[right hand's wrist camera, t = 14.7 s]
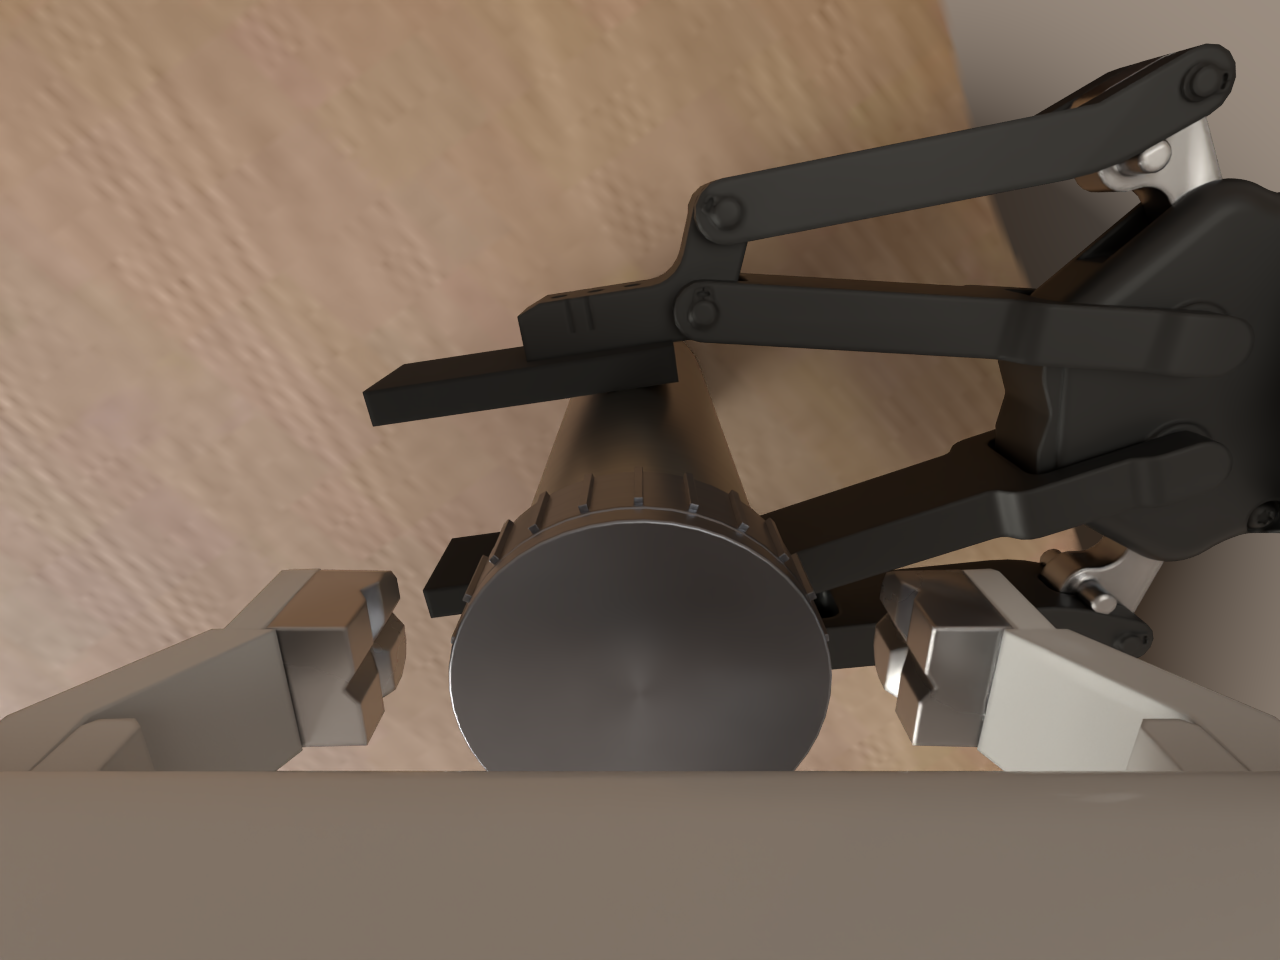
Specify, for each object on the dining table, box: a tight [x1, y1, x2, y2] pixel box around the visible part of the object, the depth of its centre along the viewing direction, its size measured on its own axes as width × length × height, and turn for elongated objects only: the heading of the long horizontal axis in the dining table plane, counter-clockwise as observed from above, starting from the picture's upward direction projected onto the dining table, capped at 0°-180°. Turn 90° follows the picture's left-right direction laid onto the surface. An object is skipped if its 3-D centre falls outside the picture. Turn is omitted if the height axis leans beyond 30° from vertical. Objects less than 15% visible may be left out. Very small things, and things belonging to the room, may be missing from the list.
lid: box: [449, 467, 832, 771], centre depth 9 cm, size 5×5×2 cm
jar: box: [531, 341, 750, 507], centre depth 16 cm, size 4×4×14 cm
